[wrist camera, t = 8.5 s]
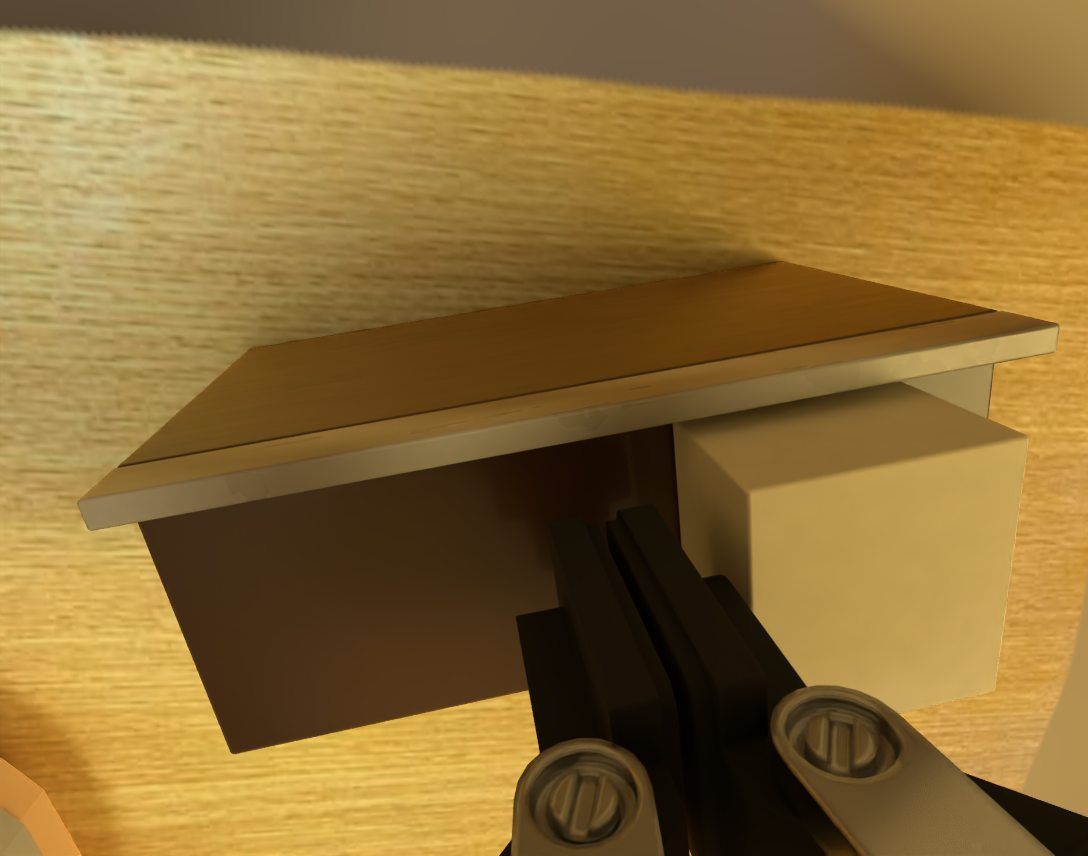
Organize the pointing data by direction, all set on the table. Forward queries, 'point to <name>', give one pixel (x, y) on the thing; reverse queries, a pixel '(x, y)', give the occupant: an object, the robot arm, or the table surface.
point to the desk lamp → (29, 819)
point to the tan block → (862, 535)
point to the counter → (478, 472)
